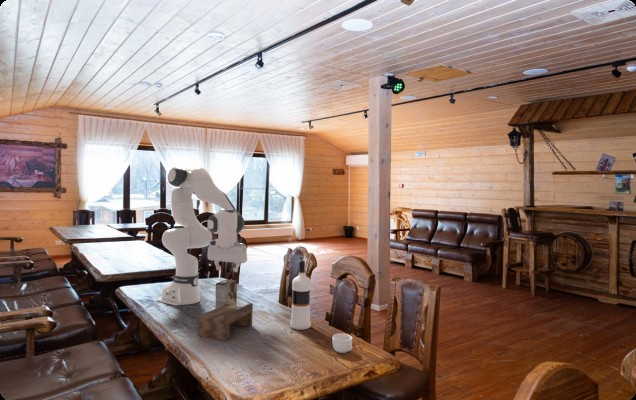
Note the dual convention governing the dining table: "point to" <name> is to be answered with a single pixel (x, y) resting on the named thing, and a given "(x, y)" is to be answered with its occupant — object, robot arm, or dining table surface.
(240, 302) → the dining table surface
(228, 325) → the walnut shelf
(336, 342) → the teacup
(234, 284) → the coffee box
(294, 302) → the vodka
